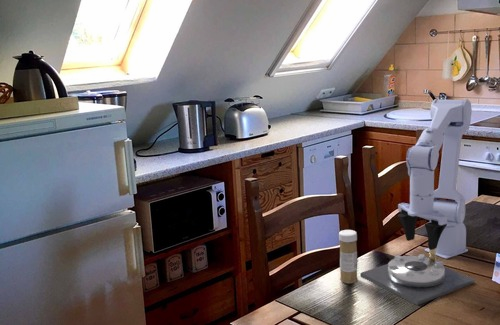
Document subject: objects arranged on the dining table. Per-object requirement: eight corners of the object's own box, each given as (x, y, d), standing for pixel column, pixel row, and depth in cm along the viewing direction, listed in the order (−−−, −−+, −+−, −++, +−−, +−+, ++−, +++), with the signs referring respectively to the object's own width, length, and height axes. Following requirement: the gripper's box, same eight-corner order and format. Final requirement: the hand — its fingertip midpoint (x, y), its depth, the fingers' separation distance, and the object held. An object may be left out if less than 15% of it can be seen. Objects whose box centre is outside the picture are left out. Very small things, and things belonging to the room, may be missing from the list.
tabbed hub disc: (414, 260, 150) (415, 236, 148) (456, 277, 138) (457, 252, 136) (376, 273, 143) (376, 249, 142) (417, 292, 131) (417, 266, 130)
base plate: (414, 258, 154) (414, 254, 154) (474, 282, 137) (474, 278, 137) (360, 276, 144) (360, 272, 144) (417, 305, 127) (417, 301, 127)
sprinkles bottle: (346, 275, 146) (345, 227, 143) (361, 279, 143) (360, 231, 140) (336, 281, 142) (335, 233, 140) (351, 285, 139) (350, 236, 136)
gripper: (389, 190, 140) (389, 239, 143) (432, 202, 128) (432, 256, 131) (409, 185, 144) (409, 233, 147) (453, 197, 131) (452, 249, 134)
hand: (421, 244), depth 139 cm, fingers open, 7 cm apart
